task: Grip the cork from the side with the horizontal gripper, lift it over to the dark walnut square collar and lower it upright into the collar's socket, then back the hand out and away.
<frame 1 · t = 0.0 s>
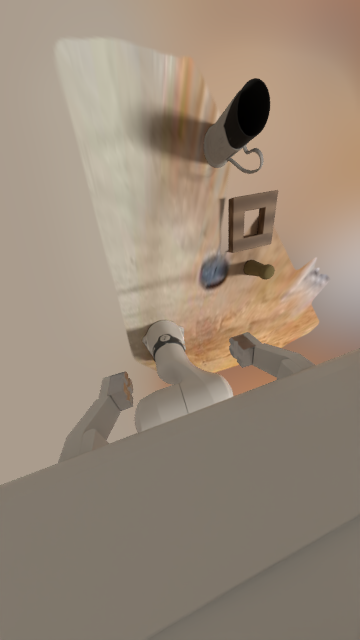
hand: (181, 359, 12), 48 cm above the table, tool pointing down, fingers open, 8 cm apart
glass holder: (222, 158, 45), on the table
cork: (249, 267, 64), on the table
walnut collar: (248, 223, 55), on the table
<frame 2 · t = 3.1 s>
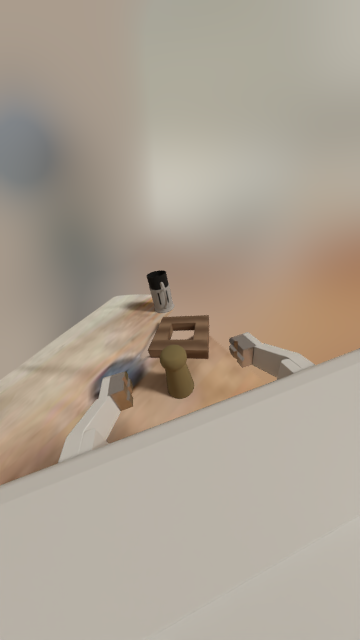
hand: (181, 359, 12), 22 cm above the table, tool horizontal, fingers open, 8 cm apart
glass holder: (166, 310, 65), on the table
cork: (180, 386, 34), on the table
walnut collar: (182, 338, 48), on the table
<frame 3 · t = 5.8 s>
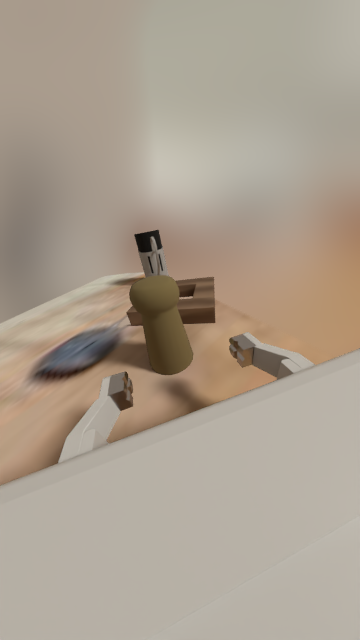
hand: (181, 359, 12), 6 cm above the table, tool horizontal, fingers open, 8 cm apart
glass holder: (159, 282, 52), on the table
cork: (171, 357, 21), on the table
walnut collar: (178, 304, 35), on the table
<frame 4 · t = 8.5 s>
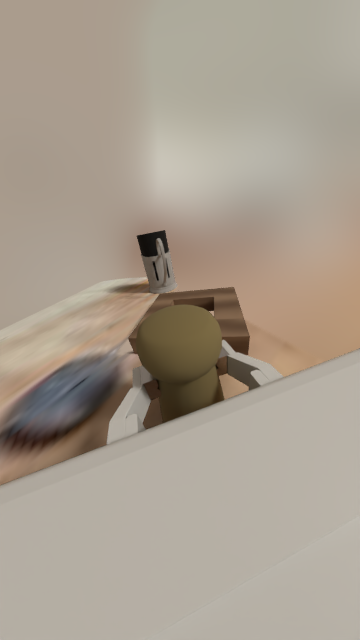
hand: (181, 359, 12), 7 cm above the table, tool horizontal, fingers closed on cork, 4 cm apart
glass holder: (165, 290, 45), on the table
cork: (195, 417, 14), on the table, touching gripper
walnut collar: (192, 322, 28), on the table
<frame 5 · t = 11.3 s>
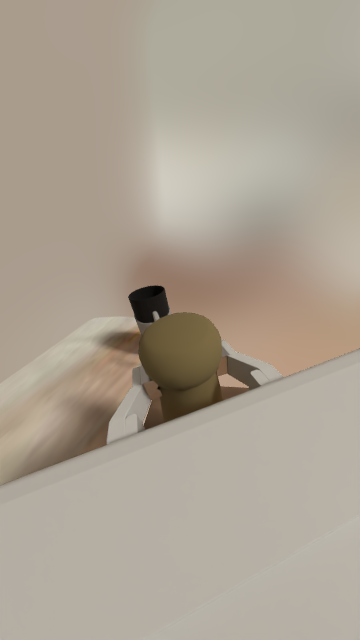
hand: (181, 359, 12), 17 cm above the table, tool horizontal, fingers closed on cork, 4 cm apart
glass holder: (165, 354, 37), on the table
cork: (196, 421, 15), point 9 cm above the table, touching gripper
walnut collar: (203, 455, 20), on the table
when the fingers open (8 cm above the table, at t = 14.1 s): cork moves 1 cm, resting in walnut collar.
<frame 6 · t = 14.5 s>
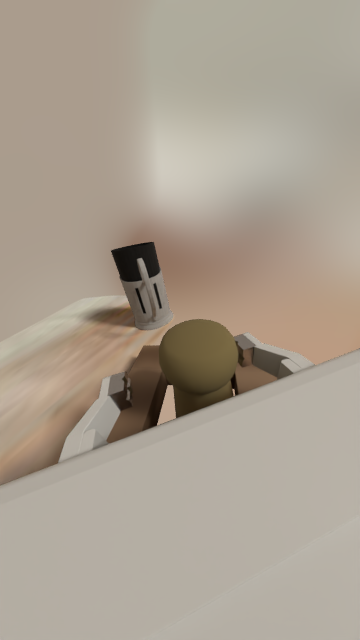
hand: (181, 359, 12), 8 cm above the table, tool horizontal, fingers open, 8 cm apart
glass holder: (156, 325, 32), on the table
cork: (206, 421, 15), resting in walnut collar
walnut collar: (196, 423, 15), on the table
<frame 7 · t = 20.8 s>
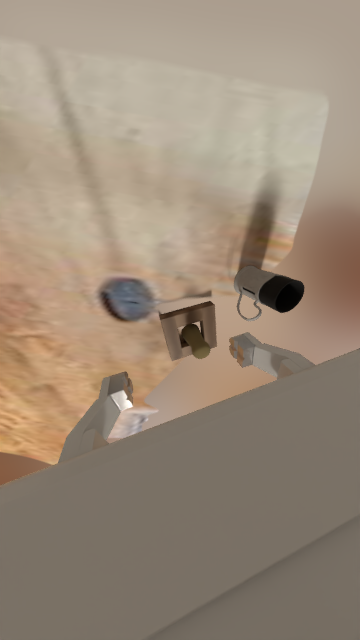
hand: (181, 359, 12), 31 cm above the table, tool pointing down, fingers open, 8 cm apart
glass holder: (239, 286, 47), on the table
cork: (190, 331, 50), resting in walnut collar
walnut collar: (188, 329, 49), on the table
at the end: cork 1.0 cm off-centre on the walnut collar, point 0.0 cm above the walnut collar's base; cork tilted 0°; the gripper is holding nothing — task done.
